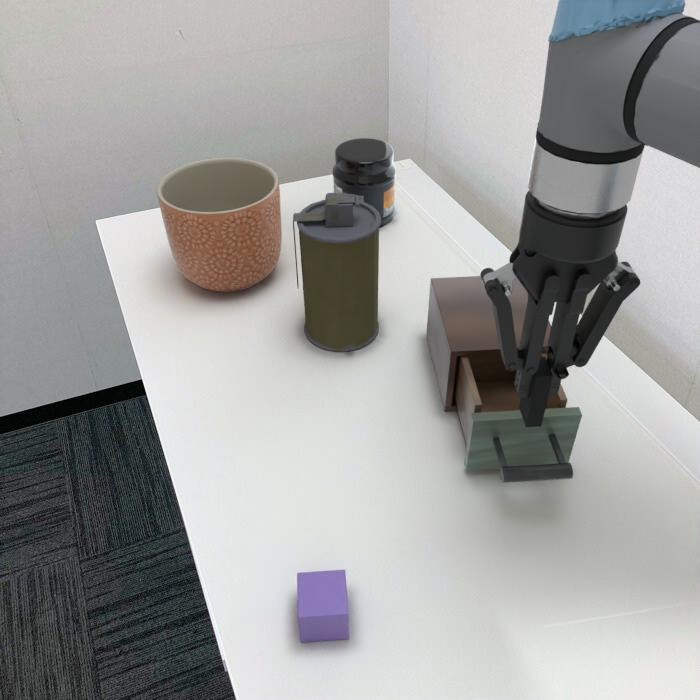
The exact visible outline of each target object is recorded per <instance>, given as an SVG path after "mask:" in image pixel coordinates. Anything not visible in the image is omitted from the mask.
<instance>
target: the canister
mask: <svg viewBox="0 0 700 700" xmlns="http://www.w3.org/2000/svg"><path fill="white" fill-rule="evenodd" d="M359 200H360V198H359V196H358V195H356V196H355V195H354V194H338V193H334V192H327V193H326V194H325V198H324V199H322V200H319V201H315V202H313V203H310V204H309V205H307V206H306V207H304V208H302V209H301V210H300V211H299V212H294V213H293V215H292V231H293V243H294V257H295V272H296V284H297V288H299V286H300V285H299V274H298V272H299V271H298V257H297V245H296V231H295V222H296V225H297V228H298V237H299V250H300V252H299V253H300V265H301V279H302V293H303V306H304V320H305V322H304V325H303V331H304V334H305V337H306V339H308V340H309V342H311V344H313V345H314V346H316V347H318V348H321V349H322V350H323V349H324V350H326V351H331V352H351V351H355V350H359V349H361V348H363V347H365V346H367V345H369V344H371V343H372V342H373V341H374V340H375V338H376V337H377V336H378V334H379V330H380V323H379V314H378V313H379V264H380V263H379V262H380V261H379V260H380V259H379V258H380V227H381V225H380V224H381V217H380V213H379V212H378V211H377V210H376V209H375V208H374V207H373V206H371V205H369V204H367V203H365V202H362V201H359Z"/></svg>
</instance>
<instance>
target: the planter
mask: <svg viewBox="0 0 700 700" xmlns="http://www.w3.org/2000/svg"><path fill="white" fill-rule="evenodd" d="M280 190H281V189H280V181H279V176H278V174H277V172H276V171H275V170H274V169H273V168H271V167H270V166H268V165H267V164H265V163H262V162H261V161H257V160H253V159H250V158H243V157H232V156H227V157H226V156H223V157H222V156H221V157H210V158H204V159H200V160H195V161H191V162H188V163H185V164H182V165H180V166H178V167H176V168H174V169H172V170H171V171H169V172H168V173H167V174H165V175H164V176H163V177H162V178H161V179H160V181H159V182H158V184H157V187H156V194H157V200H158V205H159V209H160V213H161V217H162V221H163V225H164V230H165V233H166V238H167V241H168V245H169V248H170V252H171V255H172V257H173V260H174V262H175V265H176V267H177V269H178V270H179V272H180V273H181V274H182V275H183V276H184V277H185V278H186V279H187V280H188V281H189V282H191V283H193V284H194V285H197V287H200V288H203V289H206V290H209V291H213V292H219V293H220V292H221V293H222V292H223V293H229V292H231V293H232V292H237V291H242V290H246V289H249V288H251V287H253V286H255V285H257V284H258V283H260V282H261V281H263V280H265V279H266V278H267V277H268V276H269V275H270V274H271V273H272V272H273V270H274V269H275V267H276V266H277V264H278V262H279V259H280V256H281V250H282V239H283V238H282V237H283V236H282V235H283V234H282V233H283V232H282V212H281V211H282V210H281V209H282V208H281V191H280Z"/></svg>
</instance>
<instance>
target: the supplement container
mask: <svg viewBox="0 0 700 700" xmlns="http://www.w3.org/2000/svg"><path fill="white" fill-rule="evenodd" d="M394 153H395V151H394V148H393V147H392V146H391V144H389V143H388V142H386V141H384V140H381V139H376V138H370V137H369V138H368V137H367V138H365V137H361V138H353V139H349V140H346V141H343V142H342V143H340V144H339V145H337V147H336V148H335V150H334V162H335V163H334V165H333V167H332V177H333V193H338V194H354V195H355V196H356V195H358V196H359V198H360V200H359V201H362V202H365V203H367V204H369V205H371V206H373V207H374V208H375V209H376V210H377V211H378V212H379V213H380V217H381V224H380V226H382V225H384V224H386V223H388V222H389V221H390V220H391V219H392V218H393V217H394V214H395V210H396V209H395V196H396V195H395V194H396V193H395V192H396V176H397V168H396V166H395V163H394Z"/></svg>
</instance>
